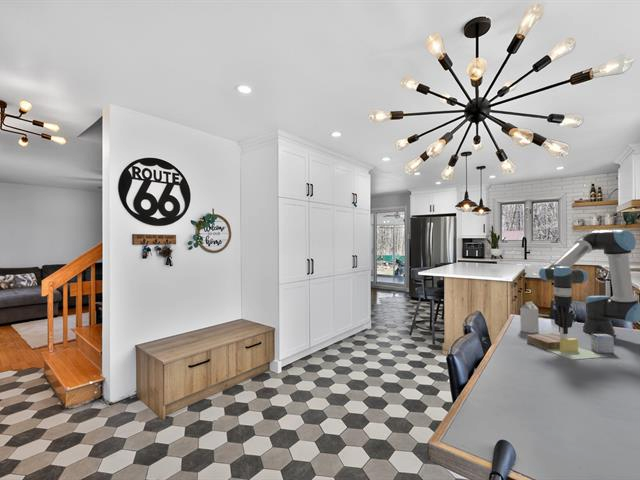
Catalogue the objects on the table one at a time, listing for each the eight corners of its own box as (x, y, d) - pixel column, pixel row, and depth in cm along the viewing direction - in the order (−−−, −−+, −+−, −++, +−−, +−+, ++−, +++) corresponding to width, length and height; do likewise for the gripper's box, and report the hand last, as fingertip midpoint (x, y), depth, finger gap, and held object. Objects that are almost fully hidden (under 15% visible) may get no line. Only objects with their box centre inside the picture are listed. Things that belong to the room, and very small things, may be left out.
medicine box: (607, 350, 166) (606, 333, 166) (614, 353, 161) (613, 336, 161) (591, 349, 167) (590, 333, 167) (597, 352, 162) (597, 336, 162)
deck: (554, 340, 184) (553, 333, 184) (577, 347, 170) (577, 340, 170) (527, 341, 181) (526, 335, 181) (548, 350, 167) (548, 342, 167)
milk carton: (520, 330, 203) (520, 301, 203) (527, 329, 206) (526, 300, 206) (531, 333, 197) (531, 303, 197) (538, 332, 200) (538, 302, 200)
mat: (578, 347, 170) (578, 347, 170) (606, 357, 156) (606, 356, 156) (546, 350, 167) (546, 349, 167) (571, 360, 153) (571, 359, 153)
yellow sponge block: (574, 338, 167) (578, 339, 165) (574, 349, 167) (578, 350, 165) (559, 339, 165) (563, 340, 163) (559, 350, 165) (563, 351, 163)
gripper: (546, 293, 174) (546, 336, 174) (568, 297, 161) (568, 343, 161) (557, 293, 175) (558, 335, 175) (580, 297, 162) (581, 342, 162)
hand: (563, 339), depth 168 cm, fingers closed
